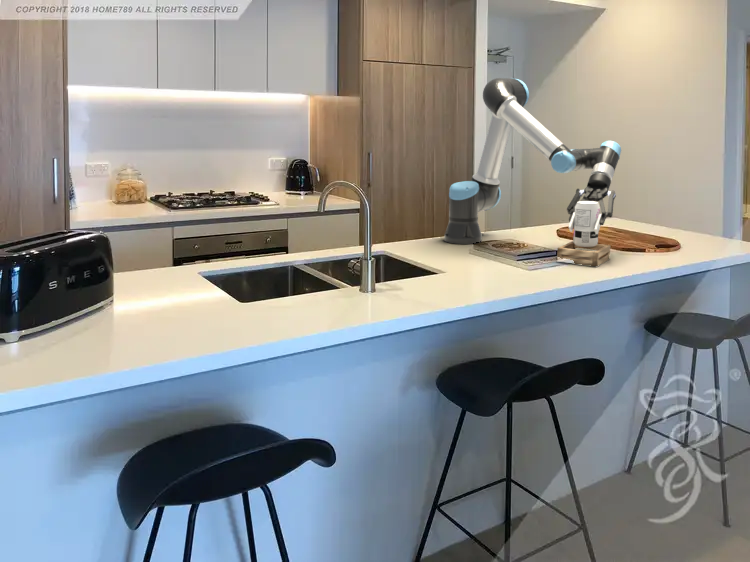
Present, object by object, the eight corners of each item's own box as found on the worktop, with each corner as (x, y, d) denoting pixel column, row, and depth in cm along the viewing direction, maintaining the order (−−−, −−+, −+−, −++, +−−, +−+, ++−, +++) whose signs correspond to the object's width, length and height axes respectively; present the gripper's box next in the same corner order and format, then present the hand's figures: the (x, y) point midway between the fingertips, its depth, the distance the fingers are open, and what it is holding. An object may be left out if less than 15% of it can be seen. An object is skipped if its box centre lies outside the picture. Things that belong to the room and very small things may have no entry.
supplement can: (569, 243, 247) (571, 201, 243) (592, 242, 248) (594, 200, 244) (578, 247, 239) (580, 204, 235) (601, 246, 240) (604, 203, 236)
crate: (556, 262, 243) (557, 248, 242) (570, 254, 254) (571, 241, 253) (596, 267, 236) (597, 252, 234) (609, 259, 247) (610, 245, 245)
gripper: (632, 187, 245) (615, 239, 236) (574, 184, 257) (556, 234, 248) (629, 173, 239) (611, 226, 231) (569, 171, 251) (551, 221, 243)
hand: (582, 230), depth 239 cm, fingers closed on supplement can, 8 cm apart
